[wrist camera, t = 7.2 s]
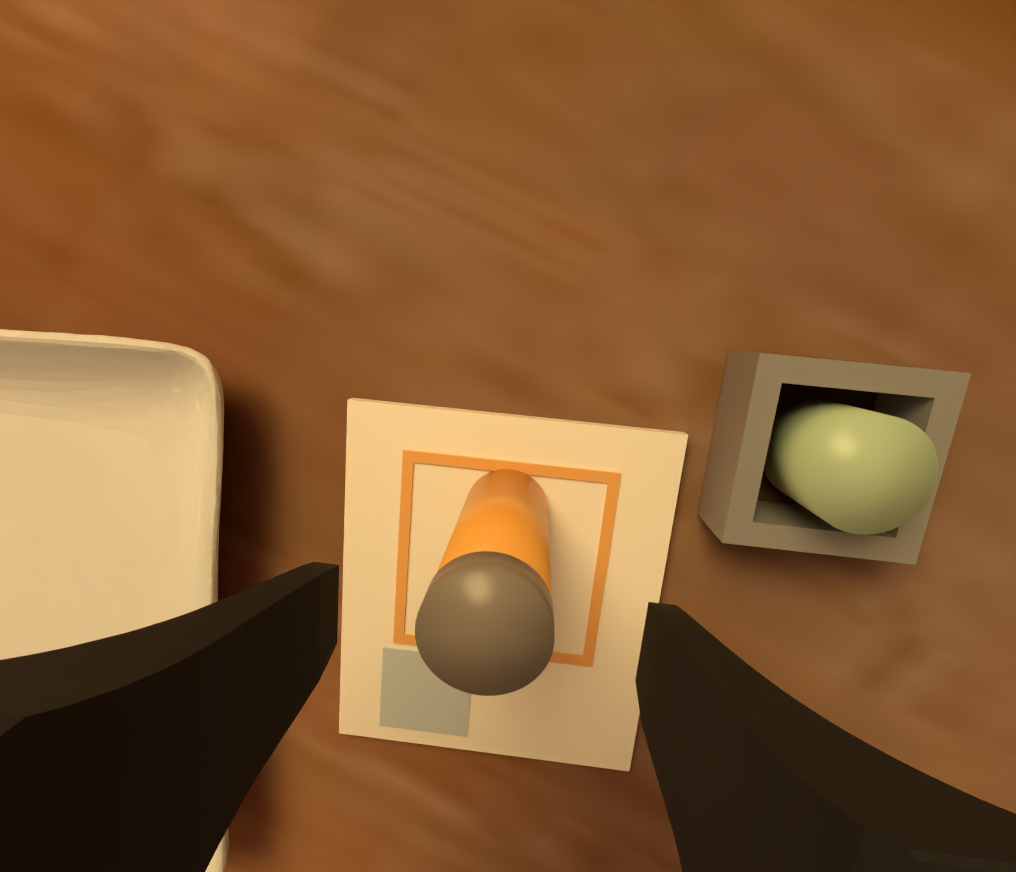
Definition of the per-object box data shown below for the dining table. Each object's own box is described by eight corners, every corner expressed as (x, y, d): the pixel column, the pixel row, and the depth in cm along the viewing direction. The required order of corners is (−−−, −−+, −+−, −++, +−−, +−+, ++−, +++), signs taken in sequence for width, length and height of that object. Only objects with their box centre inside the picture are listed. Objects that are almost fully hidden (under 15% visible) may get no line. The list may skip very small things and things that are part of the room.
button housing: (865, 532, 18) (915, 564, 16) (697, 514, 18) (721, 542, 16) (909, 366, 17) (971, 373, 14) (728, 349, 17) (759, 353, 15)
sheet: (627, 761, 21) (629, 773, 20) (343, 724, 21) (337, 735, 21) (684, 432, 18) (688, 435, 17) (352, 397, 18) (346, 400, 18)
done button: (853, 504, 17) (919, 541, 14) (751, 493, 17) (795, 527, 14) (878, 405, 16) (953, 422, 13) (772, 394, 16) (823, 409, 13)
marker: (545, 551, 19) (547, 703, 11) (462, 543, 19) (412, 687, 11) (553, 472, 18) (561, 581, 11) (467, 463, 18) (417, 565, 11)
